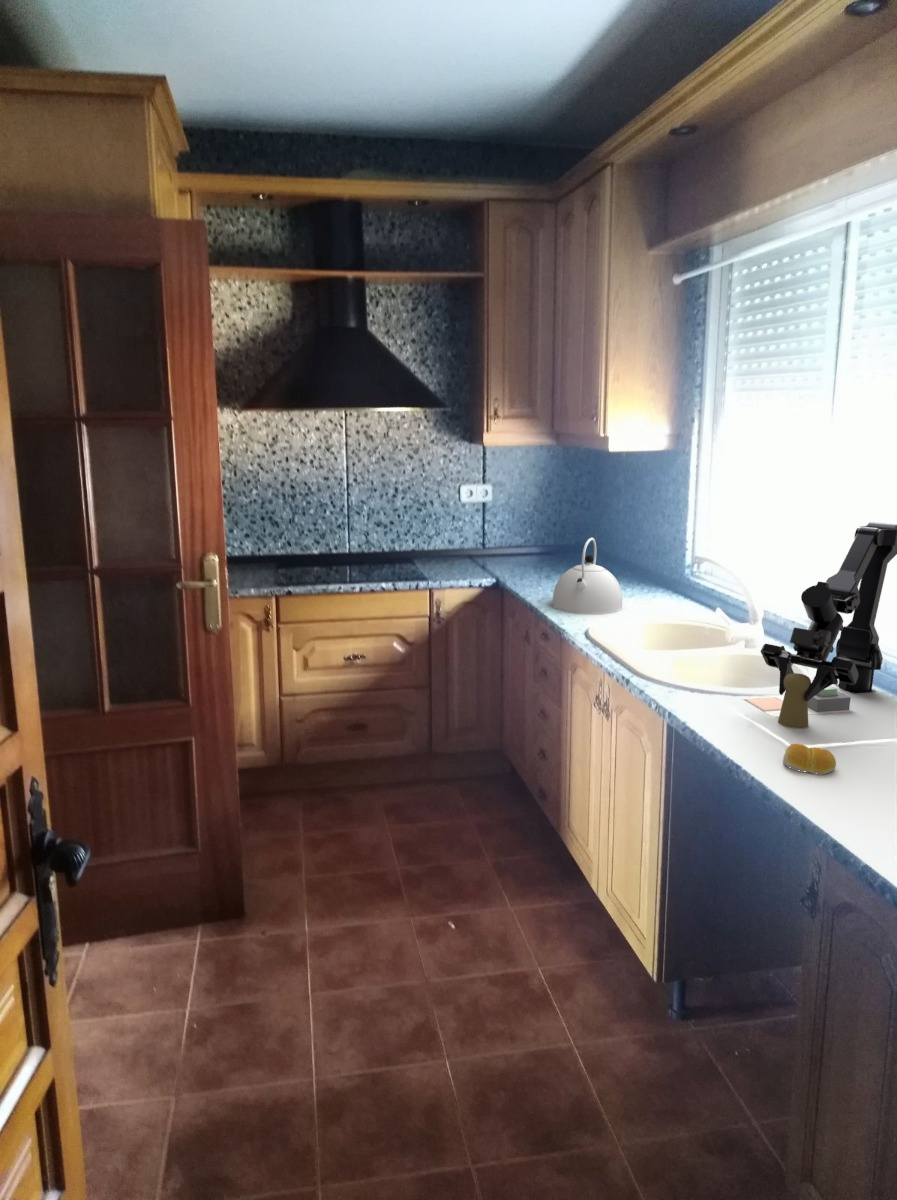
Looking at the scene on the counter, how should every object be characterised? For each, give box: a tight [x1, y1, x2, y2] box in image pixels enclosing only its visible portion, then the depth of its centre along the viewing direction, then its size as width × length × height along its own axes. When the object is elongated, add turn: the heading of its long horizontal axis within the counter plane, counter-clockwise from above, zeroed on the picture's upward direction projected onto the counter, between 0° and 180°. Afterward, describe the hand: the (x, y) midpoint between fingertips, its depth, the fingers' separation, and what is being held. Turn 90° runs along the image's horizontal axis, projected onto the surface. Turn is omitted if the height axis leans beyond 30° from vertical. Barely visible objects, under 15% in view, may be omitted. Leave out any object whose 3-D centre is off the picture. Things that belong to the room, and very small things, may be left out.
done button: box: [816, 685, 838, 697], centre depth 191 cm, size 4×4×2 cm
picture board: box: [743, 690, 853, 718], centre depth 192 cm, size 19×12×3 cm, turn 103°
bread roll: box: [782, 743, 837, 775], centre depth 160 cm, size 8×9×4 cm
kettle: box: [551, 537, 623, 615], centre depth 283 cm, size 25×23×23 cm
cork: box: [777, 672, 812, 729], centre depth 180 cm, size 6×6×11 cm
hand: (793, 696), depth 178 cm, fingers closed on cork, 5 cm apart
